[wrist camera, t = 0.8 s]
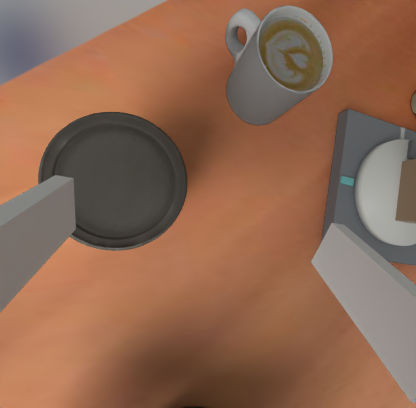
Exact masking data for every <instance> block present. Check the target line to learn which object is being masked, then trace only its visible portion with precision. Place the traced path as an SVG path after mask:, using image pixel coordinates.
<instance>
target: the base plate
mask: <svg viewBox="0 0 416 408" xmlns="http://www.w3.org/2000/svg"><path fill="white" fill-rule="evenodd" d="M398 139H406V140H410V141H411V140H414V141H416V132H414V131H411V130H409V129H406V128H403V127H400V126H397V125H394V124H391V123H388V122H385V121H383V120H380V119H377V118H374V117H371V116H368V115H365V114H362V113H359V112H357V111H354V110H351V109H347V110H345V111H343V112H341V113H339V115H338V123H337V130H336V137H335V145H334V152H333V160H332V167H331V174H330V182H329V189H328V196H327V204H326V211H325V218H324V226H323V233H322V240H323V238H324V237H325V235H326V233H327V231H328V229H329V227H330V225H331V223H336V224H342V225H345V226H346V227H347V228H349V229H350V230H351V231H352V232H353V233H355V234H356V235H357V236H358V237H359V238H360V239H362V240H363V241H364V242H365V243H366V244H368V245H369V246H370V247H371V248H372V249H374V250H375V251H376V252H377V253H378V254H380V255H381V256H382V257H383V258H384V259H385V260H387V261H388V262H395V263H402V264H409V265H416V244H414V245H410V246H398V245H392V244H387V243H384V242H382V241H379V240H378V239H376V238H375V237H374V236H373V235H371V234H370V233H369V231H368V230H367V229H366V228H365V226H364V225H363V223H362V221H361V219H360V217H359V214H358V212H357V208H356V203H355V192H354V189H355V180H356V175H357V172H358V169H359V167H360V164H361V162H362V161H363V159H364V158H365V156H366V155H367V154H368V153H369V152H370V151H371V150H372V149H373V148H375V147H376V146H378V145H380V144H382V143H386V142H389V141H393V140H398ZM322 240H321V242H322Z"/></svg>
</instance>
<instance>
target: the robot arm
mask: <svg viewBox="0 0 416 408" xmlns="http://www.w3.org/2000/svg"><path fill="white" fill-rule="evenodd" d="M75 229H76V219H75V198H74V178H69V177H64V176H58V175H55V176H53V177H51V178H49V179H48V180H46V181H44V182H42V183H40V184H38V185H37V186H35V187H33V188H31V189H29V190H28V191H26V192H24V193H22V194H20V195H19V196H17V197H15V198H13V199H11V200H9V201H8V202H6V203H4V204H2V205H0V312H1V311H2V310H3V309H4V308H5V307H6V306H7V304H8V303H9V302H10V301H11V300H12V299H13V298H14V297H15V296H16V295H17V293H18V292H19V291H20V290H21V289H22V288H23V287H24V286H25V285H26V283H27V282H28V281H29V280H30V279H31V278H32V277H33V276H34V275H35V274H36V272H37V271H38V270H39V269H40V268H41V267H42V266H43V265H44V264H45V263H46V261H47V260H48V259H49V258H50V257H51V256H52V255H53V254H54V253H55V252H56V250H57V249H58V248H59V247H60V246H61V245H62V244H63V243H64V242H65V240H66V239H67V238H68V237H69V236H70V235H71V234H72V233H73V232H74V231H75ZM311 263H312V264H313V266H314V267H315V269H316V270H317V271H318V273H319V274H320V276H321V277H322V278H323V280H324V281H325V283H326V284H327V285H328V287H329V288H330V290H331V291H332V292H333V294H334V295H335V297H336V298H337V299H338V301H339V302H340V304H341V305H342V306H343V308H344V309H345V311H346V312H347V313H348V315H349V316H350V318H351V319H352V320H353V322H354V323H355V325H356V326H357V327H358V329H359V330H360V332H361V333H362V334H363V336H364V337H365V339H366V340H367V341H368V343H369V344H370V346H371V347H372V348H373V350H374V351H375V353H376V354H377V355H378V357H379V358H380V360H381V361H382V362H383V364H384V365H385V367H386V368H387V369H388V371H389V372H390V374H391V375H392V376H393V378H394V379H395V381H396V382H397V383H398V385H399V386H400V388H401V389H402V390H403V392H404V393H405V395H406V396H407V397H408V399H409V400H410V402H416V285H415V284H414V283H413V282H412V281H410V280H409V279H408V278H407V277H406V276H404V275H403V274H402V273H401V272H400V271H399V270H397V269H396V268H395V267H394V266H393V265H391V264H390V263H389V262H388V261H387V260H385V259H384V258H383V257H382V256H381V255H380V254H378V253H377V252H376V251H375V250H374V249H372V248H371V247H370V246H369V245H368V244H366V243H365V242H364V241H363V240H362V239H360V238H359V237H358V236H357V235H356V234H355V233H353V232H352V231H351V230H350V229H349V228H347V227H346V226H345V225H342V224H336V223H331V225H330V227H329V229H328V231H327V233H326V235H325V237H324V238H323V240H322V242H321V244H320V246H319V248H318V250H317V252H316V254H315V256H314V257H313V259H312V261H311ZM187 408H201V407H187Z"/></svg>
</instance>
